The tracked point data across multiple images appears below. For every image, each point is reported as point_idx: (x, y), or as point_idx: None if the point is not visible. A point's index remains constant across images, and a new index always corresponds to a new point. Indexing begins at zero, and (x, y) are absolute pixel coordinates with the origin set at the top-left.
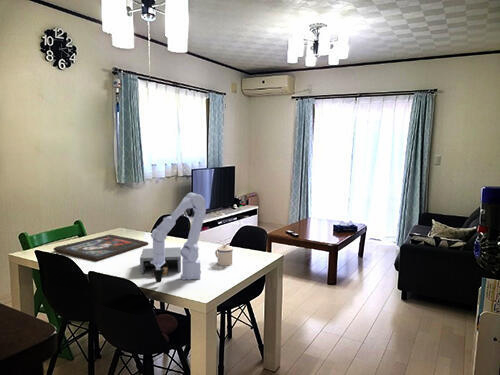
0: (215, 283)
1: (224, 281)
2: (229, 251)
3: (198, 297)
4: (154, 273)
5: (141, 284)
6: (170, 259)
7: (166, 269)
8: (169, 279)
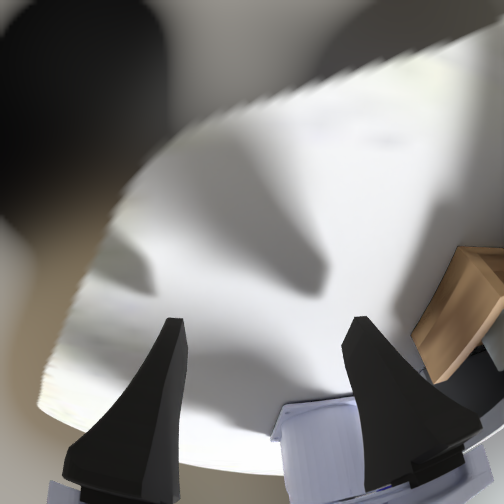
0: (207, 453)
1: (224, 460)
2: (376, 491)
3: (62, 409)
4: (98, 424)
5: (274, 107)
6: (481, 419)
7: (433, 373)
8: (329, 356)
